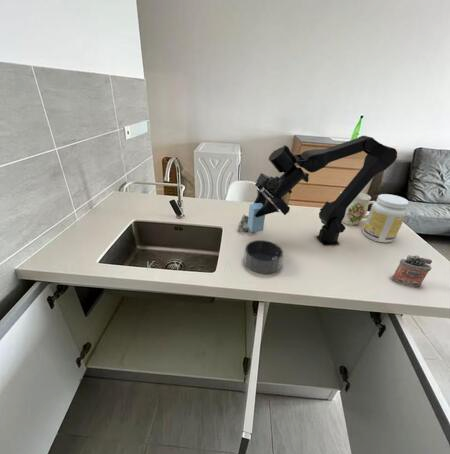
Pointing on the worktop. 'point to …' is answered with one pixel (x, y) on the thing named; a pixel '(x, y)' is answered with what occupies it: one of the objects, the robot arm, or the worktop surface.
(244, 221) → the egg carton
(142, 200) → the worktop surface
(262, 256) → the pot
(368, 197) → the pitcher
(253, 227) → the ice block
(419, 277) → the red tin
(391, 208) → the supplement tub
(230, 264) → the worktop surface
